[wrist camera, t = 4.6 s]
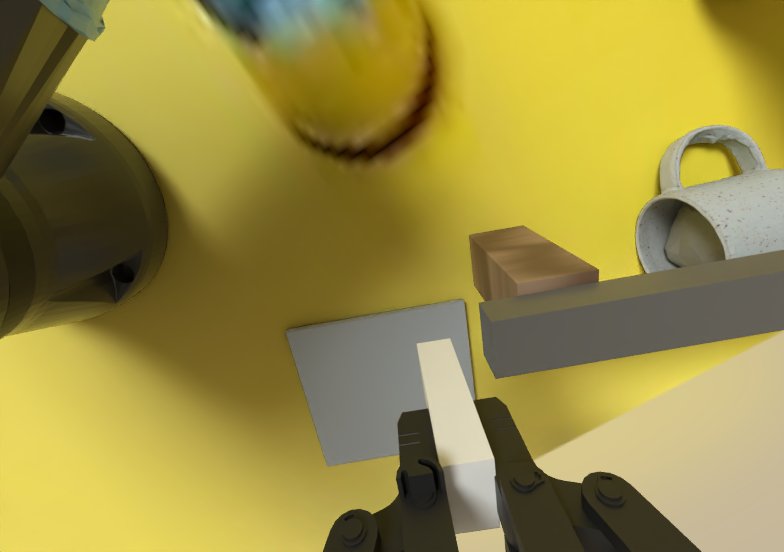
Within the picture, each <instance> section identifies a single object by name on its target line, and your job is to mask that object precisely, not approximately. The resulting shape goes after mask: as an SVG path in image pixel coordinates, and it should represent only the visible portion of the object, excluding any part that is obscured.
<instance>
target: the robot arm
mask: <svg viewBox="0 0 784 552" xmlns="http://www.w3.org/2000/svg"><path fill="white" fill-rule="evenodd" d="M108 2H109V0H0V339H1V338H3V337H5V336H10V335H15V334H19V333H24V332H29V331H34V330H39V329H44V328H48V327H53V326H58V325H63V324H68V323H73V322H78V321H82V320H87V319H90V318H93V317H96V316H99V315H101V314H104V313H106V312H108V311H110V310H112V309H114V308H115V307H117V306H119V305H120V304H122V303H123V302H125V301H127V300H128V299H130V298H131V297H133V296H134V295H136V294H137V293H138V292H140V291H141V290H142V289H143V288H144V287H145V286H146V285H147V284H148V283H149V282H150V281H151V280H152V278H153V277H154V275H155V274H156V272H157V271H158V269H159V267H160V265H161V262H162V260H163V257H164V254H165V250H166V245H167V233H168V227H167V216H166V210H165V205H164V202H163V198H162V195H161V192H160V190H159V187H158V185H157V183H156V180H155V178H154V176H153V174H152V172H151V171H150V169H149V167H148V166H147V164H146V163H145V161H144V160H143V158H142V157H141V155H140V154H139V153H138V151H137V150H136V149H135V148H134V146H133V145H132V144H131V143H130V142H129V141H128V140H127V139H126V138H125V137H124V136H123V134H122V133H121V132H119V131H118V130H117V129H116V128H115V127H114V126H113V125H112V124H110V123H109V122H108V121H107V120H105V119H104V118H103V117H101V116H100V115H99V114H97V113H96V112H94V111H93V110H91V109H89V108H88V107H86V106H84V105H82V104H81V103H79V102H77V101H75V100H73V99H71V98H68V97H66V96H64V95H61V94H59V93H56V92H55V91H56V89H57V87H58V86H59V84H60V82H61V81H62V79H63V77H64V76H65V74H66V73H67V71H68V69H69V68H70V66H71V64H72V63H73V61H74V59H75V58H76V56H77V55H78V53H79V52H80V50H81V49H82V47H83V46H84V44H85V43H86V41H87V40H88V39H90V40H92V41H95V40H96V39H97V38H98V37H99V35H100V34H101V33H102V32H103V31H104V29H105V24H104V21H103V17H102V14H103V12H104V10H105V8H106V6H107V4H108ZM417 350H418V356H419V362H420V369H421V375H422V382H423V388H424V394H425V400H426V405H427V409H421V410H415V411H408V412H402V414H401V416H400V418H399V420H398V423H397V427H398V442H399V456H400V467H399V469H398V470H397V476H396V481H397V485H398V490H399V494H398V496H397V497H396V499H395V500H394V501H393V502H392V503H391V504H390V505H389V506H387V507H386V508H384V509H382V510H380V511H378V512H376V513H374V514H371V513H370V512H368V511H365V510H362V509H356V510H350V511H348V512H346V513H344V514H342V515H341V516H340V517H339V518H338V519H337V520H336V521H335V523H334V525H333V526H332V528H331V530H330V533H329V536H328V539H327V541H326V544H325V547H324V550H323V552H459V551H458V546H457V541H456V536H455V534H459V533H466V532H473V531H480V530H486V529H493V528H499V527H500V522H501V525H502V528H503V531H504V534H505V535H504V536H505V549H506V552H701V551H700V550H699V549H698V548H697V547H696V546H695V545H694V544H693V543H692V542H691V541H690V540H689V539H688V538H687V537H685V536H684V535H683V534H682V533H681V532H680V531H679V530H678V529H677V528H676V527H675V526H674V525H673V524H672V523H671V522H670V521H669V520H668V519H667V518H665V517H664V516H663V515H662V514H661V513H660V512H659V511H658V510H657V509H656V508H655V507H654V506H653V505H652V504H651V503H650V502H649V501H647V500H646V499H645V498H644V497H643V496H642V495H641V494H640V493H639V492H638V491H637V490H636V489H635V488H634V487H632V486H631V484H629V483H628V482H626V481H625V480H624V479H622V478H621V477H618V476H616V475H614V474H611V473H605V472H595V473H590V474H589V475H588V476H586V477H585V478H584V480H583V482H582V483H575V482H569V481H563V480H558V479H555V478H553V477H550V476H548V475H547V474H545V473H544V472H543V471H542V470H541V469H539V468H538V467H537V466H536V465H535V463H534V461H533V460H532V458H531V456H530V453H529V451H528V449H527V447H526V445H525V443H524V441H523V439H522V437H521V435H520V433H519V431H518V429H517V428H516V425H515V423H514V421H513V419H512V417H511V414H510V412H509V410H508V408H507V406H506V405H505V404H504V403H503V402H501V401H500V400H499V399H498V398H497V397H492V398H486V399H480V400H473V399H472V397H471V394H470V391H469V388H468V386H467V383H466V380H465V378H464V375H463V372H462V369H461V367H460V364H459V361H458V359H457V356H456V353H455V350H454V348H453V345H452V342H451V340H450V338H449V339H442V340H436V341H430V342H424V343H417ZM499 519H500V522H499Z"/></svg>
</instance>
